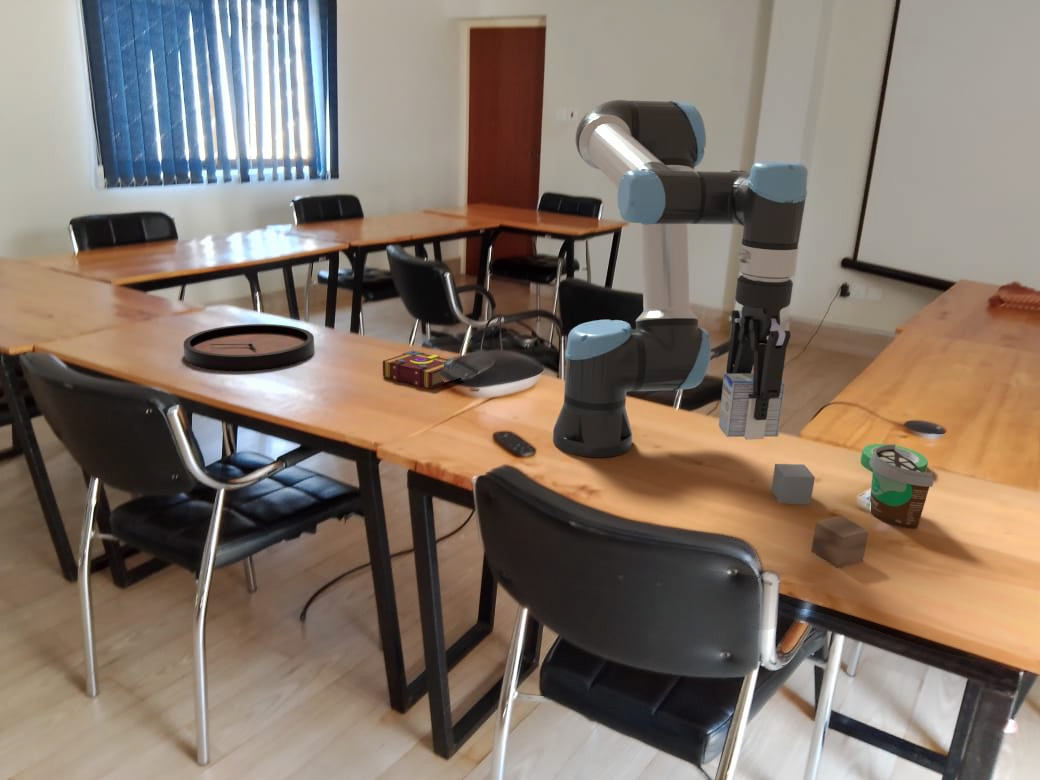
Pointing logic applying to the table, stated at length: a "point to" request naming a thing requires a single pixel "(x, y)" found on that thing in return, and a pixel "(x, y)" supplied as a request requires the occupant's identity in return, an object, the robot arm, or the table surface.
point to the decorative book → (415, 369)
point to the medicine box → (745, 406)
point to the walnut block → (839, 541)
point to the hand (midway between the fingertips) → (745, 431)
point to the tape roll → (905, 452)
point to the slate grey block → (792, 483)
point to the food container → (897, 488)
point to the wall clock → (249, 347)
